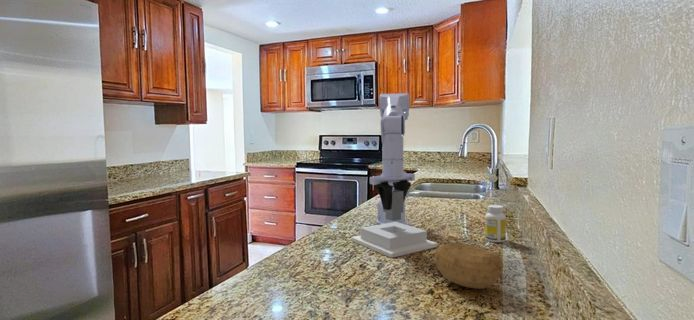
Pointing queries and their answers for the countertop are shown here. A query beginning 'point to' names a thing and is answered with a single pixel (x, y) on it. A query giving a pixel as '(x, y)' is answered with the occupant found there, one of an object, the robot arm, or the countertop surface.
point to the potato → (468, 265)
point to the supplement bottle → (495, 224)
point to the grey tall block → (395, 205)
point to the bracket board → (396, 251)
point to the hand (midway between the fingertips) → (392, 208)
